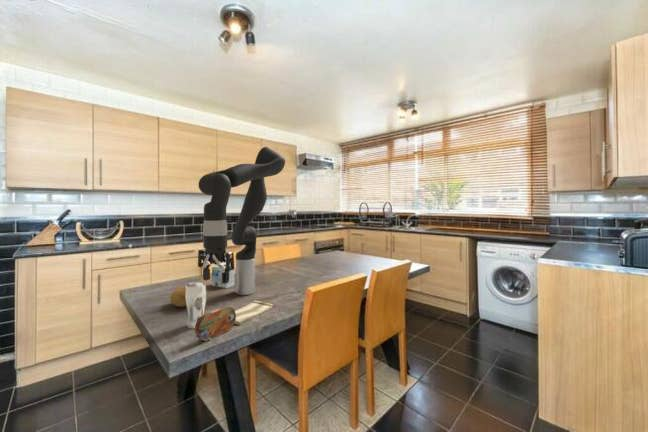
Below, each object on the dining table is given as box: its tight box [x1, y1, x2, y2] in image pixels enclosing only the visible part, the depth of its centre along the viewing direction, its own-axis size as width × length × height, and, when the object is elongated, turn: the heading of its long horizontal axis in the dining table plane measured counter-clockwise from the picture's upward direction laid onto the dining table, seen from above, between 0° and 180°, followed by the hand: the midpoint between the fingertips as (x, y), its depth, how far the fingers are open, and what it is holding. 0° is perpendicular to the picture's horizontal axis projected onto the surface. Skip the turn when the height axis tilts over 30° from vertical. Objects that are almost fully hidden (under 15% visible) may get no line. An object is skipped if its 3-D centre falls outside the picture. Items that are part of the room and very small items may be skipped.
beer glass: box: [185, 281, 208, 330], centre depth 100 cm, size 7×7×15 cm
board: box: [234, 299, 273, 326], centre depth 112 cm, size 10×20×1 cm, turn 154°
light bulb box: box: [211, 264, 236, 289], centre depth 150 cm, size 11×7×11 cm, turn 67°
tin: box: [194, 306, 236, 342], centre depth 93 cm, size 15×3×8 cm, turn 150°
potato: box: [170, 285, 187, 308], centre depth 120 cm, size 10×14×8 cm
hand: (215, 281), depth 93 cm, fingers open, 8 cm apart
